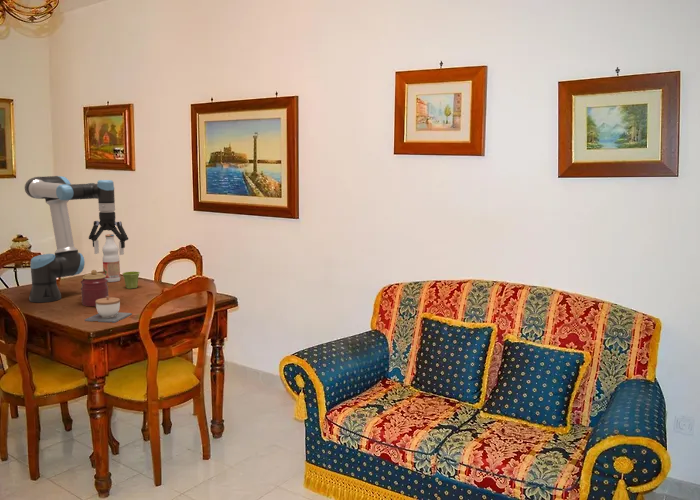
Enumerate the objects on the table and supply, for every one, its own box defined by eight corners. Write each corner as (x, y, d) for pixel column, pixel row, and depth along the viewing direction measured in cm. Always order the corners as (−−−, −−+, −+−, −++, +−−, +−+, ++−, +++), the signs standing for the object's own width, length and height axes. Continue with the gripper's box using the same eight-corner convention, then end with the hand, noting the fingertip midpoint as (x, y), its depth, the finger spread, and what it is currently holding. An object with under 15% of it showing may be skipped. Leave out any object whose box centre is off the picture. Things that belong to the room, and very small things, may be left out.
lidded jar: (112, 312, 306) (111, 293, 305) (125, 315, 299) (124, 296, 298) (91, 316, 298) (90, 296, 296) (104, 320, 291) (102, 300, 290)
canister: (76, 306, 321) (74, 271, 318) (90, 300, 333) (88, 267, 331) (100, 307, 319) (99, 272, 316) (114, 301, 331) (112, 268, 329)
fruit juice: (116, 282, 379) (113, 235, 374) (100, 282, 380) (98, 235, 375) (123, 279, 388) (120, 233, 384) (108, 279, 389) (105, 233, 385)
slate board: (84, 321, 293) (84, 319, 293) (103, 313, 307) (103, 311, 307) (114, 322, 290) (114, 321, 290) (131, 314, 304) (131, 313, 304)
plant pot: (135, 289, 359) (134, 274, 358) (119, 289, 360) (119, 274, 359) (143, 286, 368) (142, 271, 367) (128, 285, 369) (127, 271, 368)
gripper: (79, 211, 312) (82, 254, 315) (126, 212, 308) (128, 256, 311) (88, 210, 320) (90, 251, 323) (134, 211, 315) (136, 253, 318)
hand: (109, 254), depth 317 cm, fingers open, 13 cm apart
